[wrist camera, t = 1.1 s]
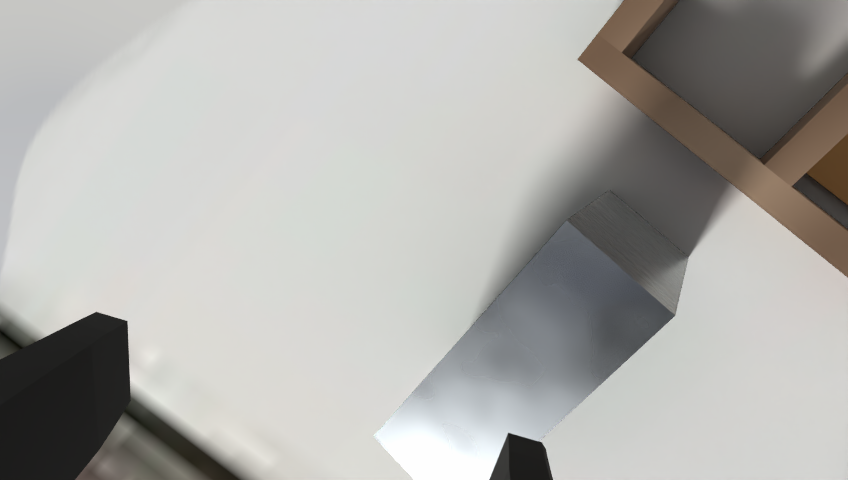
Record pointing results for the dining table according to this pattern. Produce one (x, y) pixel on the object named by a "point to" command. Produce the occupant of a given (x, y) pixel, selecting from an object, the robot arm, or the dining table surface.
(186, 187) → the dining table surface
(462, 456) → the metal block
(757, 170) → the slot rack
